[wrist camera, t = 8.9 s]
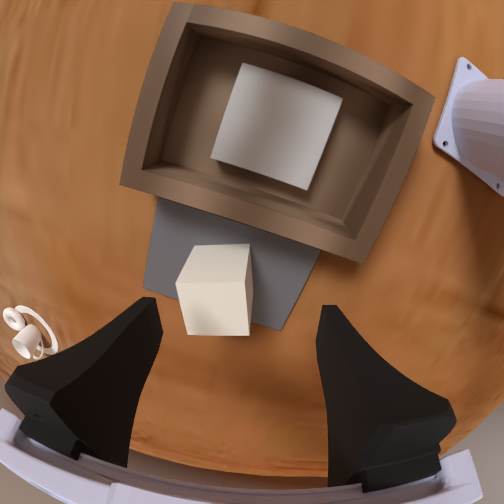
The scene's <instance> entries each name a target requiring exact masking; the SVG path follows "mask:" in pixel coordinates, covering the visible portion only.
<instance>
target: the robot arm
mask: <svg viewBox="0 0 504 504" xmlns="http://www.w3.org/2000/svg"><path fill="white" fill-rule="evenodd" d="M467 65H468V67H469V70H468V68H467ZM444 141H445V143H446V144H445V146H443V142H444ZM433 143H434V145H435V146H436V147H438V148H439V149H441V150H442V151H444V152H445V153H447V154H448V155H450V156H451V157H452V158H454V159H455V160H457V161H458V162H459V163H461V164H462V165H463V166H465V167H466V168H467V169H469V170H470V171H471V172H473V173H474V174H475V175H476V176H478V177H479V178H480V179H481V180H483V181H484V182H485V183H486V184H488V185H489V186H490V187H491V188H492V189H494V190H495V191H496V192H497V193H498V194H499V195H501V196H504V79H488V78H487V77H486V76H485V75H484V74H483V73H482V72H481V71H480V70H478V69H477V68H476V67H475V66H474V65H473V64H472V63H470V62H469V61H468V60H467V59H466V58H464V57H460V58H458V60H457V64H456V67H455V71H454V75H453V79H452V82H451V86H450V89H449V92H448V96H447V99H446V102H445V105H444V108H443V111H442V114H441V117H440V120H439V123H438V126H437V129H436V131H435V134H434V137H433ZM496 186H497V187H496ZM162 335H163V329H162V325H161V321H160V317H159V312H158V308H157V303H156V299H155V298H152V297H142V298H141V299H139V300H138V301H136V302H135V303H134V304H133V305H131V306H130V307H129V308H128V309H126V310H125V311H124V312H122V313H121V314H120V315H119V316H117V317H116V318H115V319H113V320H112V321H111V322H109V323H108V324H107V325H105V326H104V327H103V328H101V329H100V330H98V331H97V332H96V333H94V334H93V335H91V336H89V337H88V338H86V339H84V340H83V341H81V342H79V343H78V344H76V345H74V346H72V347H70V348H68V349H66V350H64V351H62V352H59V353H57V354H55V355H52V356H50V357H47V358H44V359H41V360H38V361H35V362H32V363H28V364H24V365H20V366H17V368H16V369H15V371H14V372H13V373H12V375H11V376H10V378H9V379H8V381H7V382H6V384H5V390H6V392H7V394H8V395H9V397H10V398H11V399H12V401H13V402H14V403H15V404H16V406H17V407H18V408H19V409H20V410H21V412H22V413H23V414H24V415H25V418H24V420H21V419H20V418H19V417H18V416H16V415H14V414H13V413H11V412H9V411H8V410H6V409H4V408H2V409H1V411H0V462H1V463H2V464H3V465H5V466H6V467H7V468H9V469H10V470H11V471H13V472H14V473H15V474H17V475H18V476H20V477H21V478H23V479H24V480H26V481H27V482H29V483H31V484H32V485H34V486H35V487H37V488H39V489H41V490H42V491H44V492H45V493H47V494H49V495H51V496H53V497H54V498H56V499H58V500H60V501H62V502H64V503H66V504H472V503H474V502H476V501H478V500H479V499H481V498H482V497H483V494H482V490H481V487H480V483H479V479H478V476H477V472H476V469H475V466H474V463H473V460H472V457H471V454H470V451H469V449H468V448H466V449H464V450H461V451H458V452H456V453H453V454H450V455H447V456H445V457H443V458H441V459H440V460H439V457H438V453H440V451H441V448H440V445H439V443H440V442H441V441H442V440H443V439H444V438H445V437H446V436H447V435H448V434H449V433H450V432H451V430H452V429H453V428H454V426H455V424H456V421H457V420H456V417H455V414H454V412H453V409H452V407H451V404H450V402H449V401H448V399H445V398H443V397H441V396H439V395H437V394H435V393H433V392H431V391H429V390H427V389H425V388H423V387H422V386H420V385H418V384H417V383H415V382H413V381H412V380H410V379H409V378H407V377H406V376H404V375H403V374H402V373H400V372H399V371H398V370H396V369H395V368H394V367H392V366H391V365H390V364H389V363H388V362H387V361H385V360H384V359H383V358H382V357H381V356H380V355H379V354H378V353H377V352H376V351H375V350H374V349H373V348H372V347H371V346H370V345H369V344H368V343H367V342H366V341H365V340H364V339H363V337H362V336H361V335H360V334H359V333H358V332H357V330H356V329H355V328H354V327H353V326H352V324H351V323H350V322H349V320H348V319H347V318H346V317H345V315H344V314H343V313H342V311H341V310H340V309H339V308H338V306H337V305H322V310H321V316H320V321H319V327H318V332H317V337H316V350H317V361H318V366H319V371H320V376H321V381H322V386H323V391H324V397H325V402H326V409H327V423H328V487H327V488H315V489H299V490H298V489H297V490H257V489H239V488H226V487H217V486H209V485H201V484H194V483H188V482H183V481H177V480H172V479H167V478H162V477H157V476H153V475H150V474H145V473H142V472H138V471H134V470H131V469H127V462H128V452H129V445H130V439H131V433H132V427H133V423H134V418H135V413H136V409H137V406H138V402H139V398H140V395H141V392H142V389H143V387H144V384H145V382H146V379H147V377H148V375H149V372H150V370H151V367H152V365H153V363H154V360H155V358H156V355H157V353H158V350H159V347H160V343H161V339H162Z"/></svg>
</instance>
